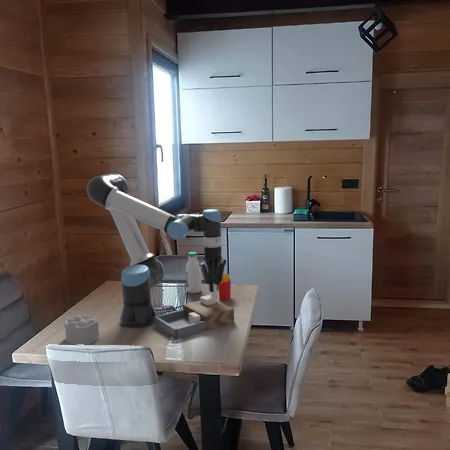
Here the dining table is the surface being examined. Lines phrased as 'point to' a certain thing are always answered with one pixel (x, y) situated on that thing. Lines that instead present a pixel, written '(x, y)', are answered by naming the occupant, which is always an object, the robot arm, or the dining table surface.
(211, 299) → the back tile
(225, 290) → the french fries
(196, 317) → the front tile
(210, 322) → the walnut platform
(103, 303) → the dining table surface
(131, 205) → the robot arm
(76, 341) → the knobbly-topped grey block
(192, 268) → the milk bottle
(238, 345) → the dining table surface
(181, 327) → the box
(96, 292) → the dining table surface
